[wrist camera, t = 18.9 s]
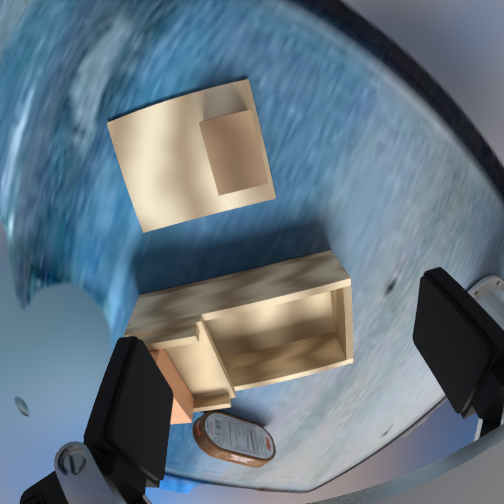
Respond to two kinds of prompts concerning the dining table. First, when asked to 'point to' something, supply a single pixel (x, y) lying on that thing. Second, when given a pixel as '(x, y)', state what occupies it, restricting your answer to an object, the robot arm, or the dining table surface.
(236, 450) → the tin
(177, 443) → the dining table surface
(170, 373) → the peach boxy piece
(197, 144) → the lid
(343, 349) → the toolbox
